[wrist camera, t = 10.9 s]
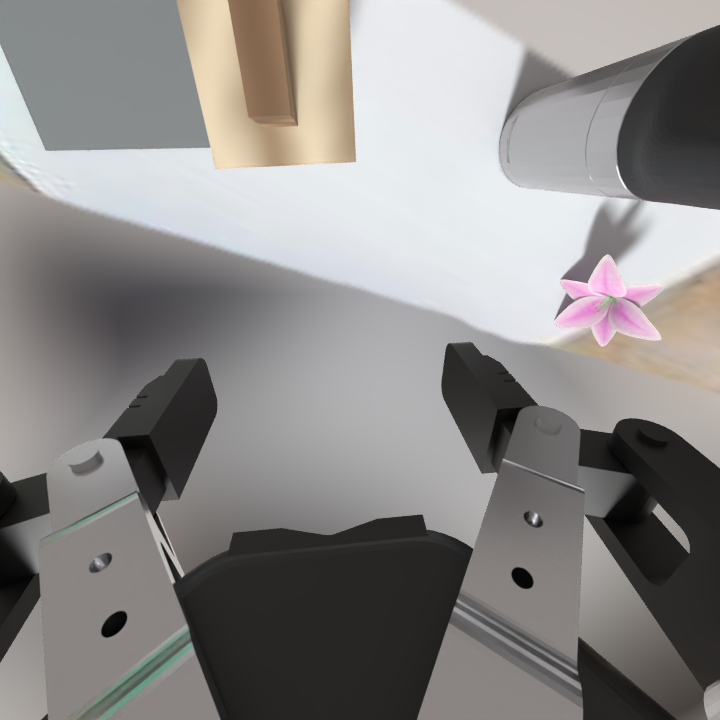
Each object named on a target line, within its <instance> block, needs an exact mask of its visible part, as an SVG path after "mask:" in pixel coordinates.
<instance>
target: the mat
mask: <svg viewBox="0 0 720 720" xmlns="http://www.w3.org/2000/svg"><path fill="white" fill-rule="evenodd" d="M0 44H1V47H2V49H3V52H4V54H5V56H6V59H7V61H8V63H9V66H10V68H11V70H12V73H13V75H14V77H15V80H16V82H17V84H18V87H19V89H20V91H21V94H22V96H23V98H24V101H25V103H26V105H27V108H28V110H29V112H30V115H31V117H32V119H33V122H34V124H35V126H36V129H37V131H38V133H39V136H40V138H41V140H42V143H43V145H44V147H45V150H47V151H56V150H108V149H160V148H211V147H210V143H209V139H208V134H207V130H206V126H205V121H204V117H203V113H202V109H201V104H200V100H199V96H198V91H197V87H196V83H195V78H194V74H193V70H192V65H191V61H190V57H189V53H188V48H187V44H186V40H185V35H184V31H183V27H182V22H181V18H180V14H179V10H178V5H177V1H176V0H0Z"/></svg>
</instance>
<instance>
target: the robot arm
mask: <svg viewBox="0 0 720 720" xmlns="http://www.w3.org/2000/svg"><path fill="white" fill-rule="evenodd" d="M499 157H500V164H501V167H502V170H503V172H504V173H505V175H506V177H507V178H508V179H509V180H510V181H511V182H512V183H514V184H515V185H517V186H519V187H524V188H530V189H539V190H547V191H557V192H567V193H576V194H586V195H596V196H605V197H615V198H627V199H636V200H646V201H652V202H662V203H672V204H680V205H687V206H694V207H701V208H709V209H718V210H720V25H718V26H715V27H713V28H710V29H707V30H704V31H702V32H699V33H696V34H694V35H691V36H688V37H685V38H682V39H680V40H677V41H674V42H671V43H668V44H666V45H663V46H661V47H658V48H655V49H653V50H650V51H647V52H644V53H641V54H639V55H636V56H633V57H630V58H627V59H624V60H622V61H619V62H616V63H613V64H611V65H608V66H605V67H602V68H600V69H597V70H594V71H591V72H588V73H585V74H582V75H580V76H577V77H574V78H571V79H568V80H565V81H562V82H560V83H557V84H554V85H551V86H548V87H546V88H543V89H540V90H538V91H536V92H534V93H532V94H530V95H529V96H527V97H526V98H525V99H524V100H522V101H521V102H520V103H519V104H518V106H517V107H516V108H515V109H514V110H513V112H512V113H511V115H510V116H509V118H508V120H507V122H506V124H505V126H504V129H503V131H502V135H501V139H500V146H499ZM441 385H442V386H441V387H442V394H443V398H444V400H445V402H446V404H447V406H448V408H449V410H450V412H451V414H452V416H453V418H454V420H455V422H456V424H457V426H458V428H459V430H460V432H461V434H462V436H463V438H464V440H465V442H466V444H467V446H468V447H469V449H470V451H471V453H472V455H473V457H474V459H475V461H476V463H477V465H478V467H479V469H480V471H481V473H482V474H483V473H494V472H497V474H498V476H497V479H496V482H495V485H494V488H493V491H492V494H491V497H490V501H489V503H488V506H487V509H486V512H485V516H484V519H483V522H482V525H481V528H480V531H479V534H478V537H477V540H476V543H475V546H474V549H473V548H471V547H470V546H468V545H467V544H465V543H463V542H461V541H459V540H458V539H456V538H453V537H451V536H448V535H446V534H443V533H439V532H436V531H432V530H426V526H425V522H424V519H423V515H412V516H402V517H392V518H381V519H376V520H373V521H370V522H367V523H365V524H362V525H359V526H356V527H353V528H351V529H348V530H345V531H342V532H340V533H336V534H333V535H321V534H314V533H308V532H302V531H295V530H288V529H283V528H280V529H269V530H258V531H247V532H237V533H233V536H232V540H231V544H230V548H229V550H227V551H224V552H222V553H220V554H218V555H216V556H213V557H211V558H210V559H208V560H206V561H204V562H203V563H201V564H199V565H198V566H196V567H195V568H194V569H192V570H191V571H190V572H188V573H187V574H186V575H184V573H183V571H182V568H181V566H180V564H179V562H178V559H177V557H176V555H175V552H174V550H173V548H172V545H171V543H170V540H169V538H168V536H167V533H166V531H165V528H164V526H163V524H162V521H161V519H160V517H159V515H158V513H157V511H156V510H157V508H158V506H159V504H160V502H161V501H168V500H179V499H180V496H181V494H182V492H183V489H184V487H185V485H186V483H187V480H188V478H189V475H190V473H191V471H192V469H193V467H194V464H195V462H196V460H197V458H198V455H199V453H200V451H201V448H202V446H203V444H204V442H205V439H206V437H207V435H208V432H209V430H210V428H211V426H212V423H213V421H214V419H215V417H216V413H217V397H216V394H215V391H214V388H213V384H212V381H211V377H210V374H209V371H208V367H207V364H206V362H205V360H204V359H202V358H194V359H179V360H176V361H175V362H174V363H173V364H172V365H171V367H170V368H169V369H168V371H167V372H166V373H165V375H164V376H159V377H158V378H156V379H155V380H153V381H152V382H150V383H149V384H147V385H146V386H145V387H144V388H143V389H142V390H141V392H140V393H139V394H138V395H137V399H134V401H132V403H131V404H130V405H129V408H127V409H126V410H125V411H124V412H123V414H122V415H121V416H120V417H119V419H118V420H117V421H116V422H115V423H114V425H113V426H112V427H111V428H110V430H109V431H108V432H107V433H106V434H105V436H104V437H103V438H102V439H97V440H92V441H89V442H86V443H83V444H81V445H79V446H76V447H74V448H73V449H71V450H69V451H67V452H66V453H64V454H63V455H62V456H60V457H59V458H58V459H57V460H56V461H55V462H54V463H53V464H52V465H51V466H50V468H49V469H48V472H47V473H44V474H40V475H37V476H34V477H30V478H26V479H23V480H20V481H16V482H13V483H10V482H9V481H8V479H7V478H6V477H5V476H4V475H3V473H2V472H0V662H1V661H2V659H3V657H4V656H5V654H6V652H7V651H8V649H9V647H10V646H11V644H12V642H13V641H14V639H15V638H16V636H17V634H18V633H19V631H20V629H21V628H22V626H23V624H24V622H25V621H26V619H27V618H28V616H29V614H30V613H31V611H32V610H33V608H34V606H35V605H36V603H37V601H38V600H39V598H40V597H41V609H42V624H43V625H42V626H43V641H44V658H45V673H46V691H47V706H48V714H47V715H46V716H45V717H44V718H43V719H42V720H677V719H676V718H675V717H673V716H672V715H671V714H670V713H669V712H667V711H666V710H665V709H664V708H662V707H661V706H660V705H659V704H658V703H656V701H654V700H653V699H652V698H651V697H650V696H648V695H647V694H646V693H645V692H643V691H642V690H641V689H640V688H639V687H638V686H636V685H635V684H634V683H633V682H632V681H631V680H629V679H628V678H627V677H626V676H625V675H623V674H622V673H621V672H620V671H618V669H616V668H615V667H614V666H613V665H612V664H610V663H609V662H608V661H607V660H606V659H605V658H603V657H602V656H601V655H600V654H599V653H597V652H596V651H595V650H594V649H593V648H591V647H590V646H589V645H588V644H587V643H586V642H584V641H583V640H582V639H581V638H580V637H578V630H579V629H578V628H579V608H580V587H581V586H580V585H581V565H582V544H583V524H584V515H585V516H586V517H587V519H588V520H589V522H590V523H591V525H592V526H593V528H594V529H595V531H596V532H597V534H598V535H599V537H600V538H601V540H602V541H603V542H604V544H605V545H606V547H607V548H608V550H609V551H610V553H611V554H612V556H613V557H614V559H615V560H616V562H617V563H618V565H619V566H620V567H621V569H622V571H623V572H624V573H625V575H626V577H627V578H628V579H629V581H630V582H631V584H632V585H633V587H634V588H635V590H636V591H637V593H638V594H639V595H640V597H641V599H642V600H643V602H644V603H645V605H646V606H647V608H648V609H649V610H650V612H651V613H652V615H653V616H654V618H655V619H656V621H657V622H658V624H659V625H660V627H661V628H662V630H663V631H664V632H665V634H666V636H667V637H668V638H669V640H670V641H671V643H672V644H673V646H674V647H675V649H676V650H677V652H678V653H679V655H680V656H681V658H682V659H683V661H684V662H685V663H686V665H687V667H688V668H689V669H690V671H691V672H692V674H693V675H694V677H695V678H696V680H697V681H698V683H699V684H700V686H701V687H702V689H703V690H704V692H705V694H704V706H705V711H706V715H707V718H708V720H720V468H718V467H717V466H716V465H715V464H714V463H712V462H711V461H710V460H709V459H708V458H706V457H705V456H704V455H703V454H701V453H700V452H699V451H698V450H696V449H695V448H694V447H693V446H692V445H690V444H689V443H688V442H686V441H685V440H684V439H683V438H682V437H680V436H679V435H677V434H676V433H675V432H673V431H672V430H670V429H667V428H666V427H664V426H661V425H659V424H656V423H654V422H650V421H647V420H642V419H631V418H630V419H623V420H621V421H619V422H618V423H617V424H616V426H615V429H614V431H613V433H604V432H598V431H591V430H584V429H580V428H579V426H578V425H577V423H576V422H575V421H574V420H573V419H572V418H571V417H569V416H568V415H566V414H564V413H562V412H560V411H558V410H556V409H553V408H549V407H544V406H539V405H538V404H537V403H536V402H535V401H534V400H533V399H532V398H531V397H530V395H529V394H528V393H527V392H526V391H525V390H524V389H523V388H522V386H521V385H520V384H519V383H518V382H516V381H515V379H514V377H513V376H512V375H511V374H509V372H508V371H507V370H506V369H505V367H504V366H503V365H502V364H501V363H500V362H498V361H496V360H495V359H493V358H491V357H489V356H488V355H486V356H485V355H484V356H483V355H482V354H481V353H480V352H479V350H478V349H477V348H476V347H475V346H474V344H473V343H471V342H464V343H449V344H448V345H447V347H446V352H445V359H444V367H443V375H442V384H441ZM658 503H659V504H660V505H661V506H662V508H663V509H664V510H665V511H666V512H667V513H668V514H669V515H670V516H671V517H672V518H673V520H674V521H675V522H676V523H677V524H678V525H679V526H680V527H681V528H682V530H683V531H684V532H685V534H686V536H687V538H688V540H689V544H690V553H688V552H687V551H686V550H685V549H684V548H683V546H682V545H681V544H680V543H679V542H678V541H677V540H676V538H675V537H674V536H673V535H672V534H671V533H670V532H669V530H668V529H667V528H666V527H665V526H664V525H663V524H662V522H661V521H660V520H659V519H658V518H657V517H656V516H655V514H653V512H652V511H653V510H654V508H655V507H656V505H657V504H658Z"/></svg>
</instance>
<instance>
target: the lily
mask: <svg viewBox="0 0 720 720" xmlns="http://www.w3.org/2000/svg"><path fill="white" fill-rule="evenodd" d="M560 283H561V285H562V287H563V288H564V289H565V291H566V292H567V293H568V295H569V296H570V297H571V298H572V299H573V300H574V301H575V302H573V303H572V304H571V305H569V306H568V307H567V308H566V309H565V310H564V311H563V312H562V313H561V314H560V315H559V316H558V317H557V318H556V319H555V321H554V325H556V326H560V327H567V328H586V327H590V326H591V329H592V332H593V334H594V336H595V338H596V340H597V342H598V343H599V344H600V346H602V347H603V346H605V345H606V344H607V343H608V342H609V341H610V340H611V339H612V337H613V336H614V334H615V333H616V331H618V332H620V333H622V334H625V335H628V336H632V337H636V338H640V339H646V340H654V341H658V340H661V336H660V334H659V332H658V331H657V330H656V329H655V327H654V326H653V325H652V324H651V322H650V321H649V320H648V319H647V318H646V316H645V315H644V314H643V312H642V311H641V310H640V309H639V307H641V306H643V305H644V304H646V303H647V302H649V301H650V300H652V299H653V298H654V297H655V296H657V295H658V294H659V293H660V292H661V291H662V290H663V289H664V288H665V286H666V285H663V284H642V285H629V286H625V284H624V281H623V279H622V277H621V275H620V273H619V271H618V268H617V266H616V264H615V262H614V260H613V259H612V257H611V256H610V255H608V254H607V255H605V256H604V257H603V258H602V259H601V260H600V262H599V263H598V265H597V266H596V268H595V269H594V271H593V273H592V275H591V277H590V279H589V281H588V283H583V282H578V281H572V280H564V279H562V280H561V281H560Z"/></svg>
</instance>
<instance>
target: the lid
mask: <svg viewBox="0 0 720 720" xmlns="http://www.w3.org/2000/svg"><path fill="white" fill-rule="evenodd" d="M176 1H177V5H178V10H179V14H180V18H181V22H182V27H183V31H184V35H185V40H186V44H187V48H188V53H189V57H190V61H191V65H192V70H193V74H194V78H195V83H196V87H197V91H198V96H199V100H200V104H201V109H202V113H203V117H204V121H205V126H206V130H207V134H208V139H209V143H210V147H211V152H212V156H213V160H214V165H215V169H229V168H248V167H268V166H288V165H307V164H327V163H346V162H356V154H355V132H354V109H353V86H352V63H351V40H350V17H349V0H176Z"/></svg>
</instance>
